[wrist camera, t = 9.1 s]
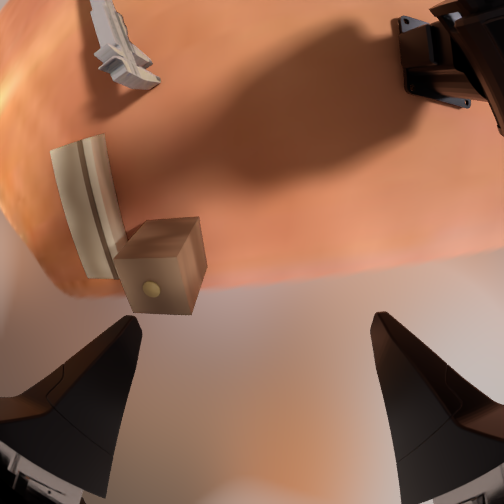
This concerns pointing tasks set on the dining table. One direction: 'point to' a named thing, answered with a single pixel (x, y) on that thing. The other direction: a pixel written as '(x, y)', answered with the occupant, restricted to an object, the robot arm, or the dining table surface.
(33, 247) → the dining table surface
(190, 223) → the brown block with knob
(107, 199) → the board
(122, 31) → the caliper
